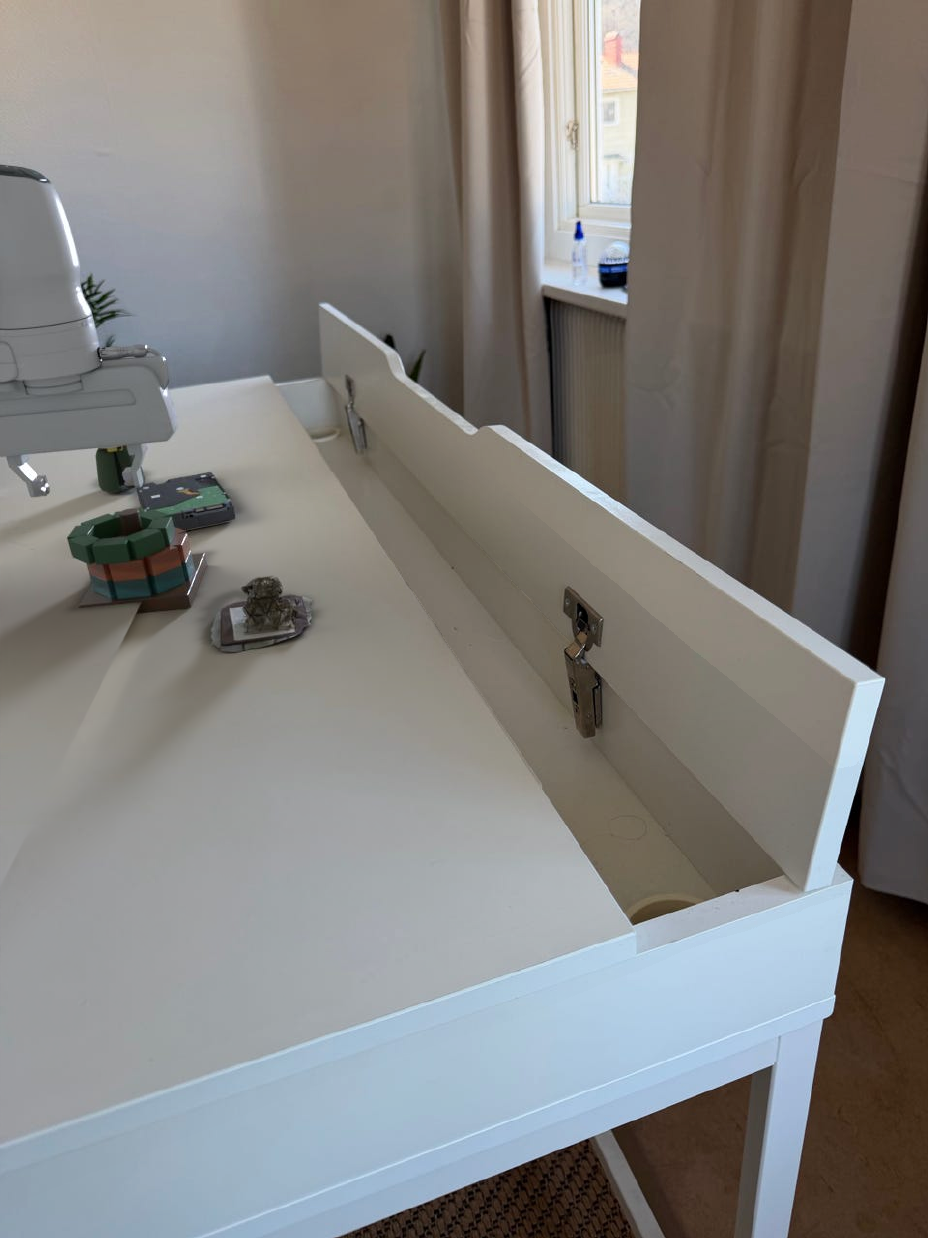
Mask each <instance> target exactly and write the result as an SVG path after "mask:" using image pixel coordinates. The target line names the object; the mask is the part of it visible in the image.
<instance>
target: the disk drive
mask: <svg viewBox="0 0 928 1238" xmlns="http://www.w3.org/2000/svg"><path fill="white" fill-rule="evenodd" d="M135 490H136V494H137V497H138V501H139V504H140V507H141V509H146V510H147V511H148V510H151V509H154V510H157V511H160V512H164V513H167V514H170V516H171V517H172V520H173V525H174V527H175V528H178V529H181V530H185V532H186V531H189V530H195V529H201V528H205V527H211V526H215V525H220V524H225V523H229V522H232V521H235V520H236V518H237V517H236V511H235V506H234V505H233V502H232V499H231V496H230V495H229V494H228V493H227V492H226V490H225V488H224V487H223V486H222V484H221V483H220V482H219V480H218V479H217V477H216V475H215V474H214V473H213V472H212V471H206V472H202V473H197V474H191V475H186V476H179V477H174V478H169V479H168V480H166V481H165V482H161V483H155V482H153V481H152V482H147V483H144V484H143V485H142V486H141V487H138V488H135Z"/></svg>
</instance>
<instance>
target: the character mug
mask: <svg viewBox="0 0 928 1238" xmlns="http://www.w3.org/2000/svg"><path fill="white" fill-rule="evenodd" d="M134 457H135V454H134V455H129V453H128V449H127V445H124V446H113V447H102V448H97V449H96V451H95V464H96V474H97V475H96V476H97V482H98V487H99V488H100V490H101V491H102V492H103V491H104V492H108V493H113V492H115V493H116V492H121V490H122V489H121V487H123V486H124V487H125V484H124V483H125V480H124V479H123V476H122V472H123V471H124V469H125V468H127V467H132V464H133V460H134ZM140 468H141V472H142V476H143V484H145V482H146V475H145V473H144V470H143V467H142V466H141V467H140ZM132 489H134V488H126V490H128V491H129V490H132Z"/></svg>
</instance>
